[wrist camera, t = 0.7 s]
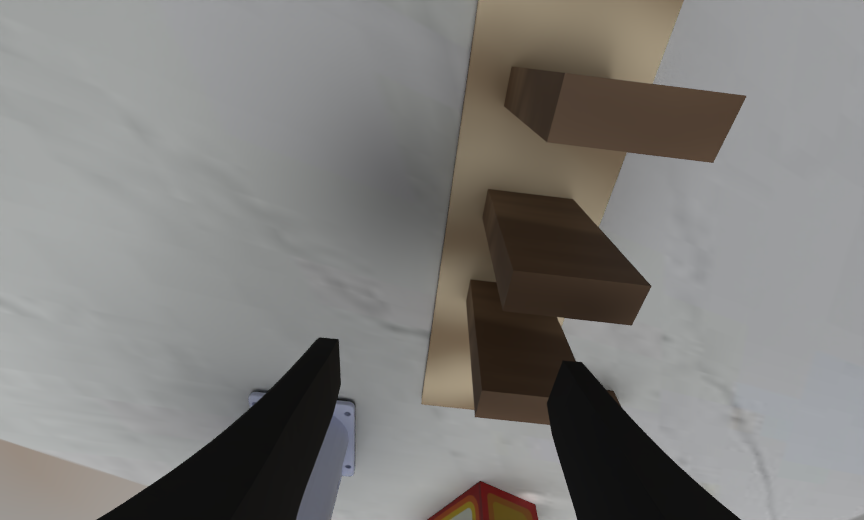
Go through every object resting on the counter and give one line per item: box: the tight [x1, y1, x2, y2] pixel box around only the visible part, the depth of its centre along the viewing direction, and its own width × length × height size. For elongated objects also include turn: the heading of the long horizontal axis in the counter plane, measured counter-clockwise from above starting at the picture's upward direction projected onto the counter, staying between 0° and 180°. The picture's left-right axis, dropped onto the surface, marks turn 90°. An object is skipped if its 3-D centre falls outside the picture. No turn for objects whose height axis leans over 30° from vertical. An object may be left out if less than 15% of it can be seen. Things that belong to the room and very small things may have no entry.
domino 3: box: [466, 279, 576, 425], centre depth 18 cm, size 2×4×8 cm, turn 84°
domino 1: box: [504, 67, 746, 163], centre depth 12 cm, size 2×4×8 cm, turn 84°
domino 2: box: [482, 189, 651, 325], centre depth 15 cm, size 2×4×8 cm, turn 84°
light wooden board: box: [421, 0, 684, 410], centre depth 20 cm, size 26×8×1 cm, turn 174°
